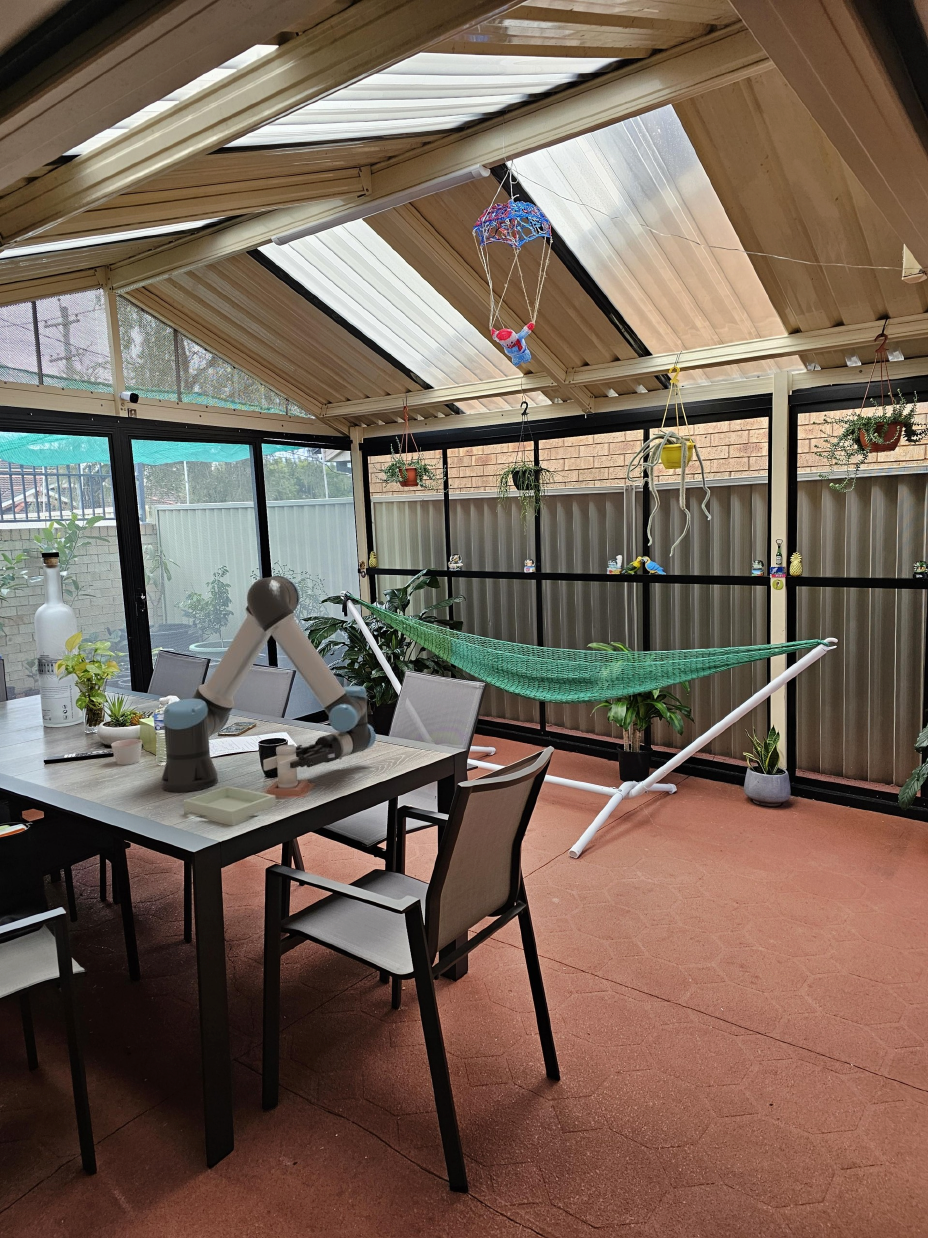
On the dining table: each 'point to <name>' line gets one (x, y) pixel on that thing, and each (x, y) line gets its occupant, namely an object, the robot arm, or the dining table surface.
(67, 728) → the dining table surface
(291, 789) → the orange square coaster
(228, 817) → the tray
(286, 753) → the cylinder
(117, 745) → the pink cup
